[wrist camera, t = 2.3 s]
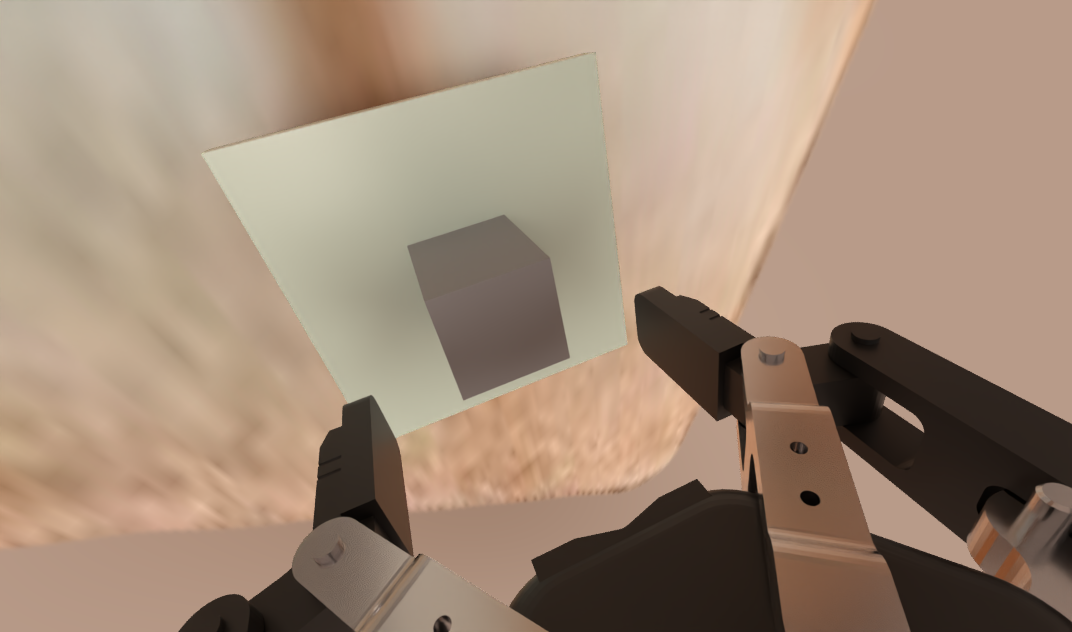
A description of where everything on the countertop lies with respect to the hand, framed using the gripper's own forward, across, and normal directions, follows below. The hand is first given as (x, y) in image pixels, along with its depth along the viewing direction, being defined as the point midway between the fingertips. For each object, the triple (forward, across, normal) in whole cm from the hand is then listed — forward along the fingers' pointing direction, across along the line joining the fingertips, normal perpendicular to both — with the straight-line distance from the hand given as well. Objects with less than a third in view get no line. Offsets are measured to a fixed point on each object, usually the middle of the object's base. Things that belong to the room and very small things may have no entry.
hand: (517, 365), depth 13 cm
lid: (+8, 0, 0) cm, 8 cm away
